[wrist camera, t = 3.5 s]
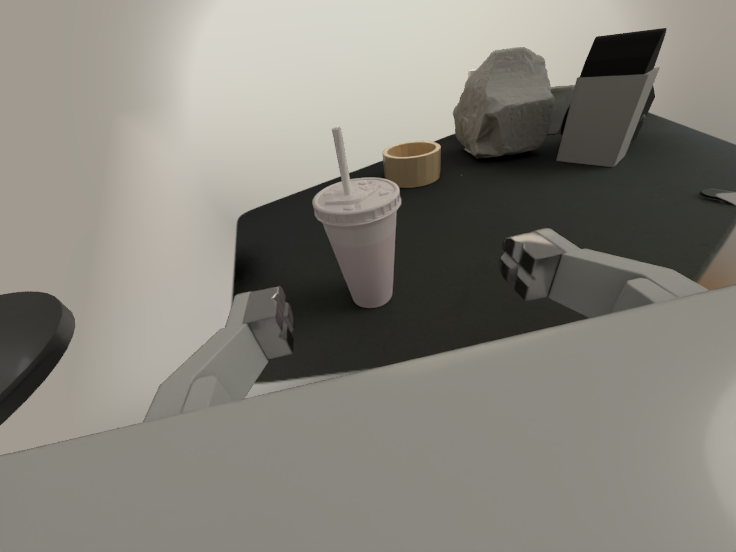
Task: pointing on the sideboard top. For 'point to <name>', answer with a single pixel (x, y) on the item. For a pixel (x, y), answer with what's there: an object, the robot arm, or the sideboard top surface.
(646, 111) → the decorative object
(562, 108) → the mineral specimen
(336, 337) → the sideboard top surface
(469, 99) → the stone
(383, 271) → the smoothie
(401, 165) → the tan hollow round container
